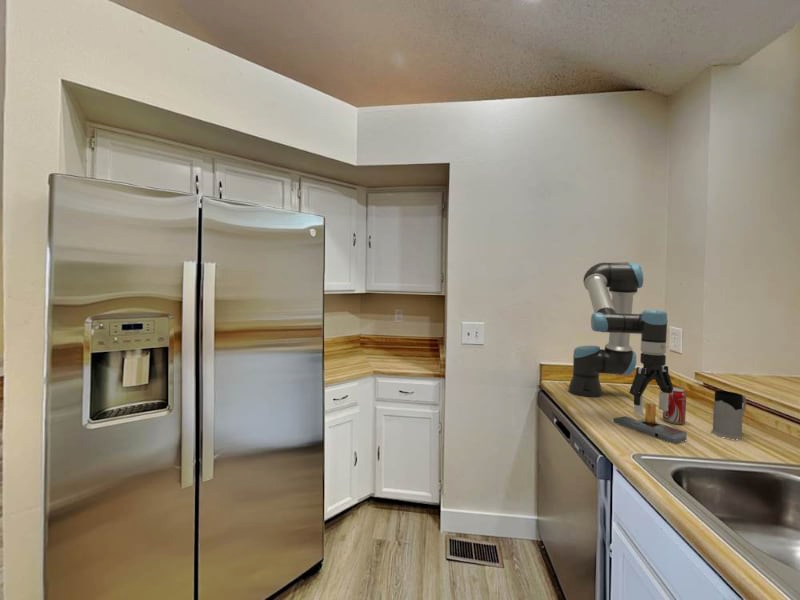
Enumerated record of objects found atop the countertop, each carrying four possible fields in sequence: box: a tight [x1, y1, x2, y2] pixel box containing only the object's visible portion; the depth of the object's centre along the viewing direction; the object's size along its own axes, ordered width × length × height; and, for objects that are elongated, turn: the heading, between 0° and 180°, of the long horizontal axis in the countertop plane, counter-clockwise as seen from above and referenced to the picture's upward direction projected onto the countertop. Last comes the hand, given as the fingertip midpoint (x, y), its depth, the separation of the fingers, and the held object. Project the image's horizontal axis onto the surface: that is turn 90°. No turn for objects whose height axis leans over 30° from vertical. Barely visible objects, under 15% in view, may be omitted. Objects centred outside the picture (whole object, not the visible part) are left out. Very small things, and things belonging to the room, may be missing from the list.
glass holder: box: [710, 390, 747, 441], centre depth 136 cm, size 9×14×15 cm, turn 111°
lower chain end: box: [612, 415, 658, 438], centre depth 140 cm, size 16×7×2 cm, turn 23°
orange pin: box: [644, 402, 657, 427], centre depth 137 cm, size 3×3×10 cm
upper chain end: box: [633, 418, 688, 444], centre depth 134 cm, size 14×7×3 cm, turn 23°
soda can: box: [662, 386, 687, 425], centre depth 148 cm, size 7×7×13 cm
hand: (650, 412), depth 136 cm, fingers open, 13 cm apart
